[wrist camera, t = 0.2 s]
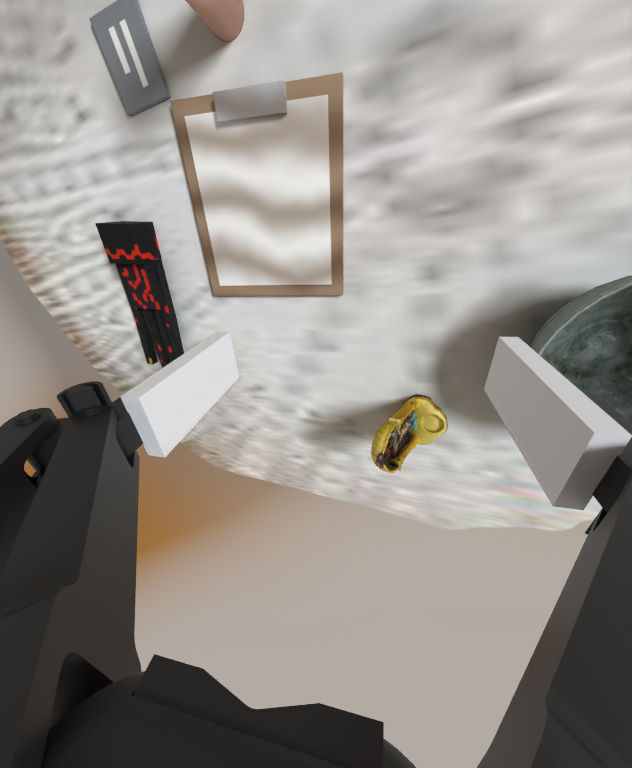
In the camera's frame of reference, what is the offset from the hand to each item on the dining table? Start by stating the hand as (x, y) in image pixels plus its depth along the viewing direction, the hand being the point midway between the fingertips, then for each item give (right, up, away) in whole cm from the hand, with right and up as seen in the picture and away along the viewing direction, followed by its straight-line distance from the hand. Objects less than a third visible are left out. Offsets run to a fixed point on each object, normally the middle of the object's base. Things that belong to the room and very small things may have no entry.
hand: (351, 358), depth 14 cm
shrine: (+14, -5, +33) cm, 36 cm away
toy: (-28, +10, +35) cm, 46 cm away
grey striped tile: (-23, +36, +18) cm, 46 cm away
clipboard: (-8, +22, +22) cm, 32 cm away
